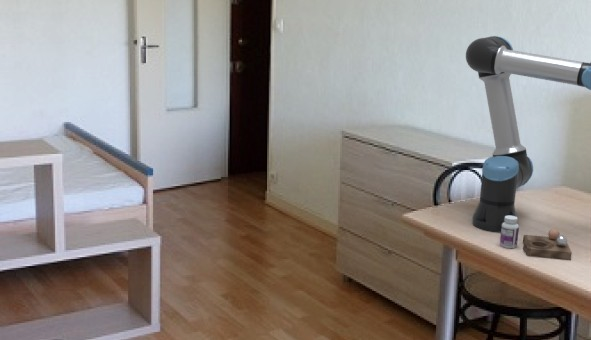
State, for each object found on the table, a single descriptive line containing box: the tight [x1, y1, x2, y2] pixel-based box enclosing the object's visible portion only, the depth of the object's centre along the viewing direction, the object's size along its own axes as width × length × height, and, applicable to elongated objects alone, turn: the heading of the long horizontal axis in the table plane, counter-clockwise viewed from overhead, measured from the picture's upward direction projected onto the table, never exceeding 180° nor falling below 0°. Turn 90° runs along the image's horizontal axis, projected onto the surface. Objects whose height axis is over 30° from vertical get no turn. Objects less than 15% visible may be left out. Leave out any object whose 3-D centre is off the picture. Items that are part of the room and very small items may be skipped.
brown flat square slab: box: [522, 234, 573, 261], centre depth 239 cm, size 14×13×2 cm
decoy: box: [547, 228, 560, 240], centre depth 242 cm, size 3×3×3 cm
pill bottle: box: [499, 215, 520, 249], centre depth 241 cm, size 5×5×10 cm
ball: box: [556, 235, 568, 246], centre depth 236 cm, size 3×3×3 cm
